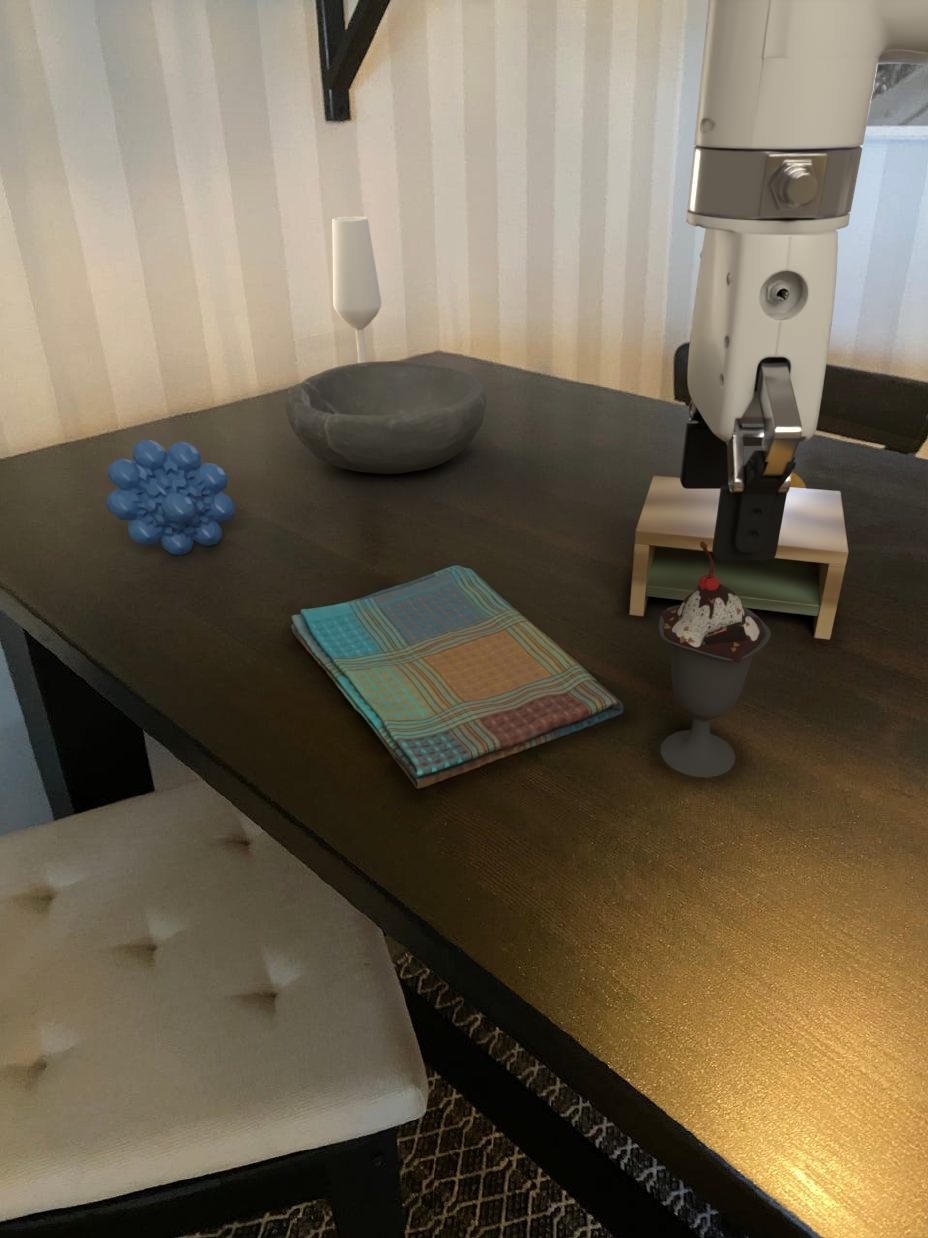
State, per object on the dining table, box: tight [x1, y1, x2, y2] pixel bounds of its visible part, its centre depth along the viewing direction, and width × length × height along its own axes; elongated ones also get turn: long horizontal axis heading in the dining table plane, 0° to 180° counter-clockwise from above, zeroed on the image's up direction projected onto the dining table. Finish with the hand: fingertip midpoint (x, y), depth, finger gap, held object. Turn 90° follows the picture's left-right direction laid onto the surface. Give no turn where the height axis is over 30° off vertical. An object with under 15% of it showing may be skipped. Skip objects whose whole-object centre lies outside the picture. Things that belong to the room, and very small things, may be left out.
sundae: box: [658, 541, 772, 778], centre depth 57 cm, size 7×7×15 cm
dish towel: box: [290, 564, 624, 790], centre depth 69 cm, size 17×23×2 cm
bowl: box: [285, 360, 487, 475], centre depth 105 cm, size 23×22×10 cm
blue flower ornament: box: [106, 439, 236, 556], centre depth 85 cm, size 12×7×12 cm, turn 119°
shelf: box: [628, 475, 849, 640], centre depth 77 cm, size 12×16×8 cm
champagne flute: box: [331, 215, 382, 363], centre depth 126 cm, size 7×7×24 cm
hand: (723, 519), depth 52 cm, fingers open, 9 cm apart
